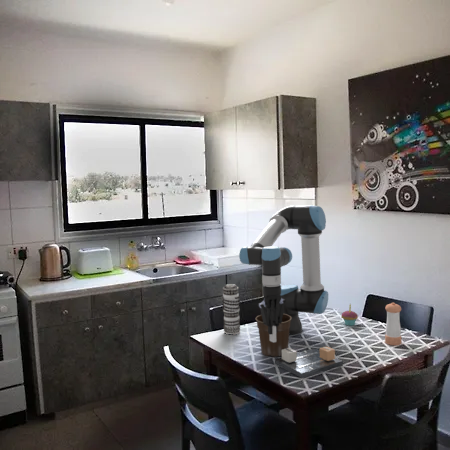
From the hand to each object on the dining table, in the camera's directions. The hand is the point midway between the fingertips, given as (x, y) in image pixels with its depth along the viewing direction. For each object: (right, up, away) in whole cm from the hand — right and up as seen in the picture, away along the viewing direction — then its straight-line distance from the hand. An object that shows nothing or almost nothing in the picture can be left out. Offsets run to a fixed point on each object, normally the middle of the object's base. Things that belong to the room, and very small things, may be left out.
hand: (273, 341), depth 199 cm
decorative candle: (-16, -8, +51) cm, 54 cm away
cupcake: (+46, -5, +57) cm, 74 cm away
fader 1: (+7, -9, +5) cm, 13 cm away
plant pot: (+3, -10, +21) cm, 24 cm away
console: (+16, -11, +6) cm, 20 cm away
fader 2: (+24, -8, +6) cm, 26 cm away
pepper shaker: (+59, -8, +28) cm, 66 cm away
